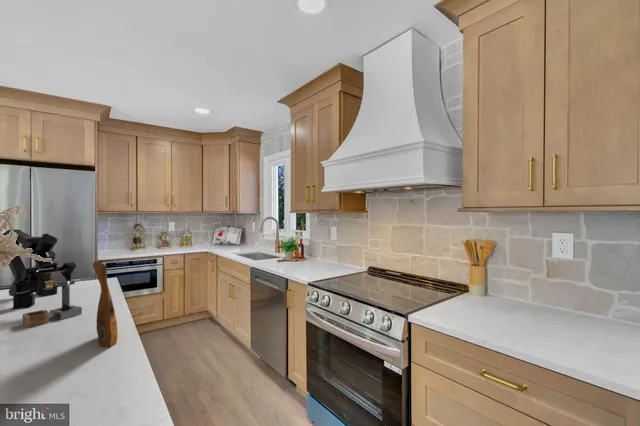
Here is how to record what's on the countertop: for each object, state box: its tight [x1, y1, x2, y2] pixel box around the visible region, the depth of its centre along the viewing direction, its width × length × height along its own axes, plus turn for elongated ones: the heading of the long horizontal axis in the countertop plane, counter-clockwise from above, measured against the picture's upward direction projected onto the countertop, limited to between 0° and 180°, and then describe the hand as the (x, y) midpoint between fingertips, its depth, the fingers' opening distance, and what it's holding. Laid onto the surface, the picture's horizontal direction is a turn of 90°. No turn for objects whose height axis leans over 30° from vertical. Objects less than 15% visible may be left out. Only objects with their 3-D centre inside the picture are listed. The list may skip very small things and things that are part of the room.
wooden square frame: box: [22, 309, 50, 328], centre depth 123 cm, size 7×7×4 cm
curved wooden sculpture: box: [92, 260, 119, 348], centre depth 107 cm, size 7×19×28 cm, turn 39°
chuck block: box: [48, 304, 83, 321], centre depth 132 cm, size 8×8×3 cm
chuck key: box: [55, 279, 76, 311], centre depth 132 cm, size 6×3×15 cm, turn 158°
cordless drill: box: [35, 250, 58, 297], centre depth 165 cm, size 8×21×25 cm, turn 53°
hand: (57, 285), depth 134 cm, fingers open, 9 cm apart
